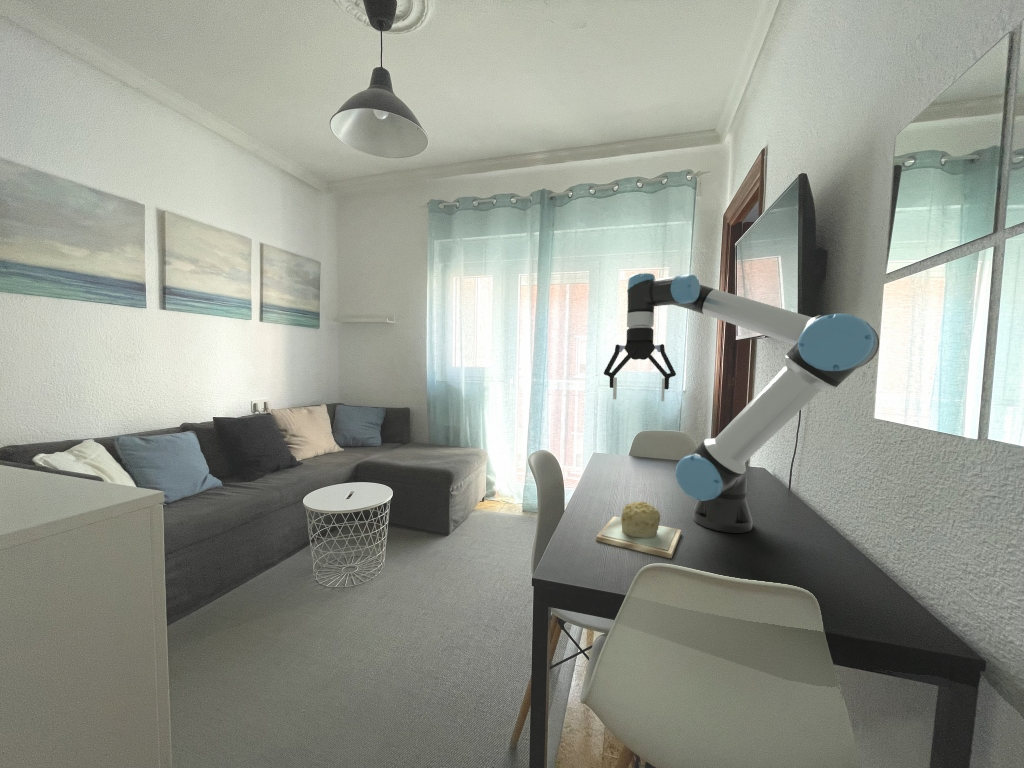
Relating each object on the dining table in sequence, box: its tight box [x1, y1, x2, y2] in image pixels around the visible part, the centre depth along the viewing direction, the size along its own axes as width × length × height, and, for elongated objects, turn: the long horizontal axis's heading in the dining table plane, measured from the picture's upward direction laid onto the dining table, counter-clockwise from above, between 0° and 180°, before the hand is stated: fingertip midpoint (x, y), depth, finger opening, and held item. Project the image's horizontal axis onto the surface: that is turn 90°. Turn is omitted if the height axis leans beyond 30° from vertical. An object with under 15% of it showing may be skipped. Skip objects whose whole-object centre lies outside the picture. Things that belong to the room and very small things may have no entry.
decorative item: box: [620, 501, 661, 538], centre depth 104 cm, size 10×10×10 cm
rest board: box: [595, 516, 682, 559], centre depth 104 cm, size 18×16×1 cm
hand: (638, 400), depth 119 cm, fingers open, 13 cm apart
